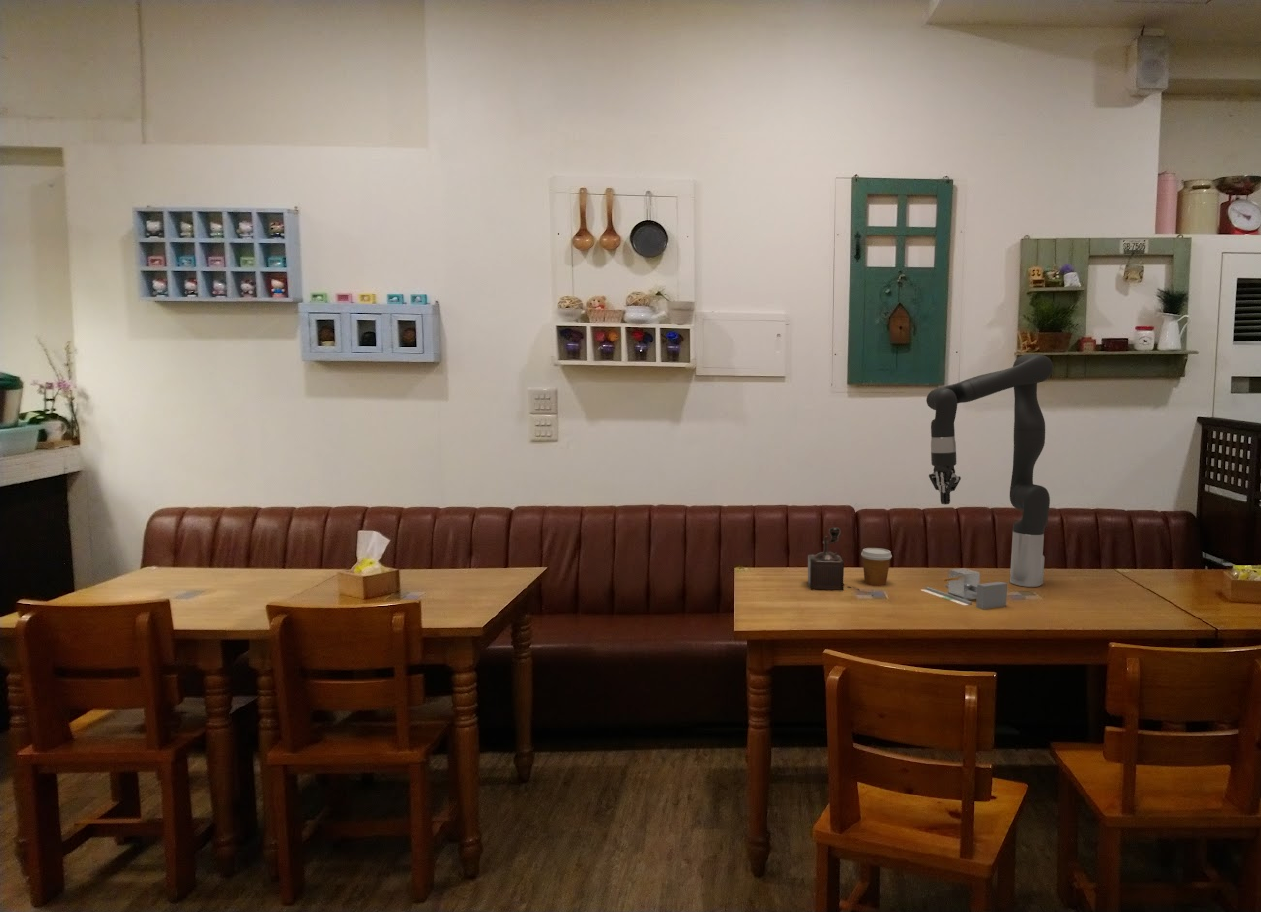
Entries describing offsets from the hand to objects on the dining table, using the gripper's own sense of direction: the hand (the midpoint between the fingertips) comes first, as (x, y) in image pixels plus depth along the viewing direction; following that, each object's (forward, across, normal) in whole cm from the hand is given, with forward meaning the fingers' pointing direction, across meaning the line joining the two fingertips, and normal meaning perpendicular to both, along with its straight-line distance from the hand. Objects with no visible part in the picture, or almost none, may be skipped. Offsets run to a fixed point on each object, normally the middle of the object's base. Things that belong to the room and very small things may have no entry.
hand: (945, 503), depth 259 cm
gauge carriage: (+26, -20, +11) cm, 34 cm away
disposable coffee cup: (+25, +5, +24) cm, 35 cm away
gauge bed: (+27, -17, +8) cm, 33 cm away
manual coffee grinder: (+24, +13, +38) cm, 47 cm away
